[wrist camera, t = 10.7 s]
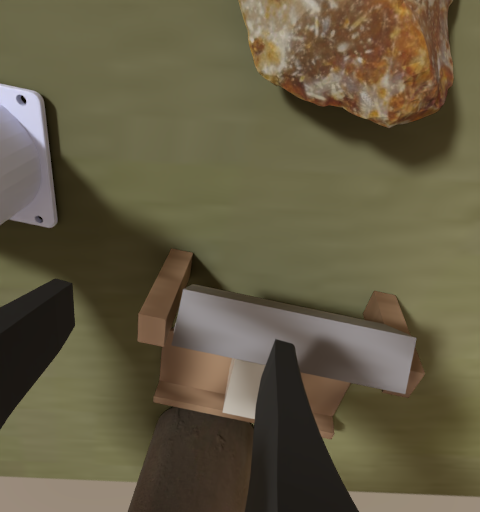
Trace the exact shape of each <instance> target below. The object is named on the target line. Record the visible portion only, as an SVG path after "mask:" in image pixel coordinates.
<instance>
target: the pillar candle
mask: <svg viewBox="0 0 480 512" xmlns="http://www.w3.org/2000/svg"><path fill="white" fill-rule="evenodd" d="M253 434H254V429H253V427H252V426H251V424H250V423H249V422H246V421H241V420H236V419H231V418H226V417H222V416H217V415H212V414H207V413H202V412H198V411H193V410H188V409H183V408H178V407H173V408H171V409H169V410H167V411H165V412H164V413H163V414H162V415H161V416H160V417H159V420H158V422H157V425H156V427H155V430H154V433H153V437H152V440H151V442H150V446H149V449H148V452H147V455H146V458H145V461H144V464H143V467H142V470H141V473H140V476H139V479H138V482H137V486H136V488H135V491H134V494H133V497H132V500H131V503H130V507H129V510H128V512H245V507H246V501H247V495H248V489H249V481H250V472H251V460H252V447H253Z"/></svg>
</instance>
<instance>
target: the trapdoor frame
mask: <svg viewBox="0 0 480 512" xmlns="http://www.w3.org/2000/svg"><path fill="white" fill-rule="evenodd" d="M192 257H193V253H191V252H186V251H181V250H177V249H172V248H171V250H170V252H169V254H168V256H167V258H166V260H165V262H164V264H163V266H162V268H161V270H160V272H159V274H158V276H157V278H156V280H155V282H154V284H153V286H152V288H151V290H150V292H149V294H148V296H147V298H146V300H145V302H144V304H143V306H142V308H141V310H140V312H139V314H138V342H142V343H147V344H152V345H157V346H162V354H161V366H160V378H159V383H158V386H157V389H156V391H155V394H154V400H153V402H154V403H159V404H164V405H169V406H174V407H178V408H183V409H188V410H193V411H198V412H202V413H207V414H212V415H217V416H222V417H226V418H231V419H236V420H241V421H246V422H251V423H254V421H255V419H251V418H246V417H241V416H236V415H232V414H227V413H222V412H223V405H224V399H225V393H226V387H227V381H228V375H229V369H230V364H231V360H232V358H229V357H224V356H220V355H215V354H210V353H205V352H200V351H196V350H191V349H186V348H181V347H177V346H172V345H171V344H172V340H173V335H174V328H171V326H172V323H173V321H174V318H175V316H176V313H177V310H178V308H179V305H180V302H181V297H182V292H183V289H184V288H186V286H187V284H188V281H189V278H190V272H191V264H192ZM363 316H364V320H368V321H372V322H377V323H382V324H386V325H388V326H390V327H392V328H395V329H397V330H399V331H402V332H404V333H406V334H409V335H410V332H409V330H408V327H407V324H406V322H405V319H404V316H403V314H402V311H401V309H400V306H399V303H398V301H397V298H396V295H391V294H387V293H382V292H377V291H374V292H373V294H372V296H371V298H370V300H369V302H368V304H367V306H366V308H365V310H364V312H363ZM300 373H301V372H300ZM424 375H425V372H424V369H423V367H422V364H421V361H420V359H419V356H418V353H417V351H416V348H415V349H414V354H413V359H412V363H411V368H410V373H409V378H408V383H407V388H406V393H405V394H402V393H397V392H392V391H387V390H383V389H382V393H387V394H392V395H397V396H401V397H406V398H409V396H410V395H411V393H412V392H413V390H414V389H415V388H416V386H417V385H418V383H419V382H420V380H421V379H422V378H423V376H424ZM301 377H302V381H303V384H304V388H305V391H306V394H307V397H308V401H309V404H310V407H311V410H312V413H313V416H314V418H315V421H316V424H317V426H318V429H319V432H320V434H321V436H322V437H323V438H327V439H332V437H333V435H334V426H333V415H334V413H335V411H336V409H337V408H338V406H339V404H340V402H341V400H342V398H343V396H344V395H345V393H346V391H347V389H348V387H349V385H350V384H351V383H349V382H344V381H340V380H335V379H330V378H325V377H320V376H316V375H311V374H306V373H301Z"/></svg>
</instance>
